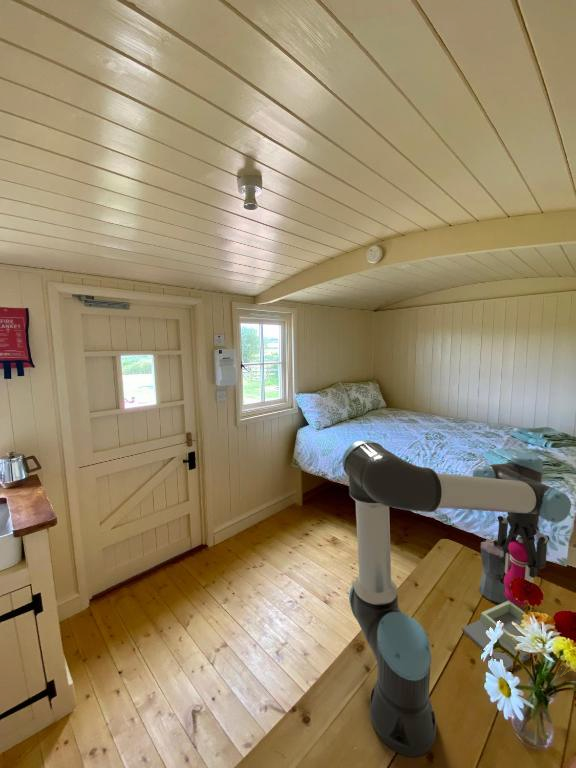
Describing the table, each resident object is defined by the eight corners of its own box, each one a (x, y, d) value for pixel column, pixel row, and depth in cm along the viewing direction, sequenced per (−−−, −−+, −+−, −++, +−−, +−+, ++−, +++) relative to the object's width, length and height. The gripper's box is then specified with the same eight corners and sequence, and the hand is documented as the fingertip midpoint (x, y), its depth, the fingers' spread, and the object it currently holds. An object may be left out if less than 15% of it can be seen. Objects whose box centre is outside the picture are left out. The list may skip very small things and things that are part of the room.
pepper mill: (507, 604, 97) (511, 542, 94) (499, 587, 104) (503, 528, 101) (536, 610, 95) (540, 546, 92) (526, 592, 102) (530, 532, 99)
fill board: (505, 671, 89) (506, 658, 89) (461, 630, 102) (462, 619, 102) (552, 645, 96) (554, 633, 96) (506, 610, 109) (507, 599, 109)
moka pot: (497, 580, 123) (500, 531, 121) (522, 613, 108) (526, 558, 105) (470, 579, 124) (473, 530, 122) (491, 612, 109) (495, 557, 106)
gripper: (567, 518, 88) (560, 595, 91) (502, 490, 105) (498, 557, 108) (549, 524, 86) (543, 604, 89) (485, 495, 103) (482, 563, 105)
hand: (518, 578), depth 98 cm, fingers closed on pepper mill, 5 cm apart
